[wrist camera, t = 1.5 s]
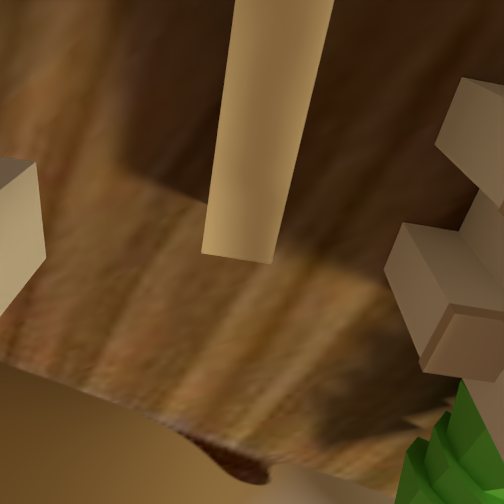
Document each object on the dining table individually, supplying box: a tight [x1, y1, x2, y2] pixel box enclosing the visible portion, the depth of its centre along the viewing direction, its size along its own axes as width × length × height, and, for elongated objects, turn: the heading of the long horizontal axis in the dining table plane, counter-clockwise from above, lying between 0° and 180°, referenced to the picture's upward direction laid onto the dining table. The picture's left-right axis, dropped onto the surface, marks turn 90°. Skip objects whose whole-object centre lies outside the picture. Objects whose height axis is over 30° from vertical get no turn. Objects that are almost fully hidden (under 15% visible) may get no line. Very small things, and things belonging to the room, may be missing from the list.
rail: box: [201, 0, 334, 264], centre depth 23 cm, size 4×16×6 cm, turn 170°
